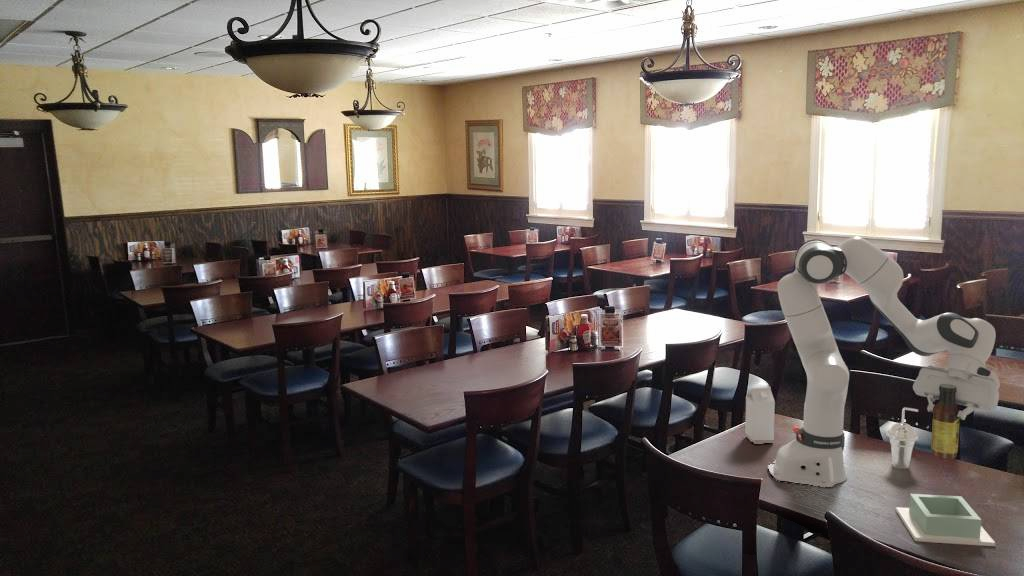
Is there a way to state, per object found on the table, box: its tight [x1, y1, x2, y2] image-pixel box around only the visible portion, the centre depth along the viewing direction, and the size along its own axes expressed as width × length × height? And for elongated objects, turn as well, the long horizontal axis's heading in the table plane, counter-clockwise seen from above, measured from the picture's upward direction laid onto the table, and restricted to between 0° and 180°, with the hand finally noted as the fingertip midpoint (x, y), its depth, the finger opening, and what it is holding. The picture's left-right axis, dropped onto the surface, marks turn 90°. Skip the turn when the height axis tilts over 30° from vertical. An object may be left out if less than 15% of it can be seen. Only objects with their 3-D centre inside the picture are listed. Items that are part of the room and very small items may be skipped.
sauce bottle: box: [931, 384, 961, 460], centre depth 196 cm, size 7×6×20 cm
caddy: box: [895, 493, 996, 547], centre depth 188 cm, size 18×16×6 cm
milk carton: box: [744, 386, 776, 441], centre depth 246 cm, size 7×7×19 cm
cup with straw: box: [886, 407, 920, 470], centre depth 223 cm, size 8×9×20 cm
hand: (945, 414), depth 196 cm, fingers closed on sauce bottle, 6 cm apart
